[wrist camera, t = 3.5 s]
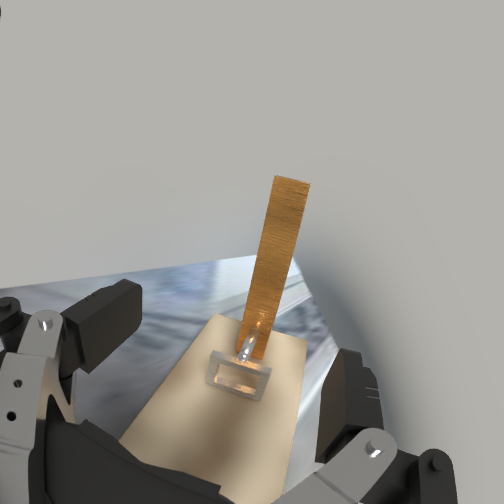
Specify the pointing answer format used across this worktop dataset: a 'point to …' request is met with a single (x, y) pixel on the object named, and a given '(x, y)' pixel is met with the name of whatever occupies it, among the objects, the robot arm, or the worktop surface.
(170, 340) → the worktop surface
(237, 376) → the rail board
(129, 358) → the worktop surface
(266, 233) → the upright wooden paddle
